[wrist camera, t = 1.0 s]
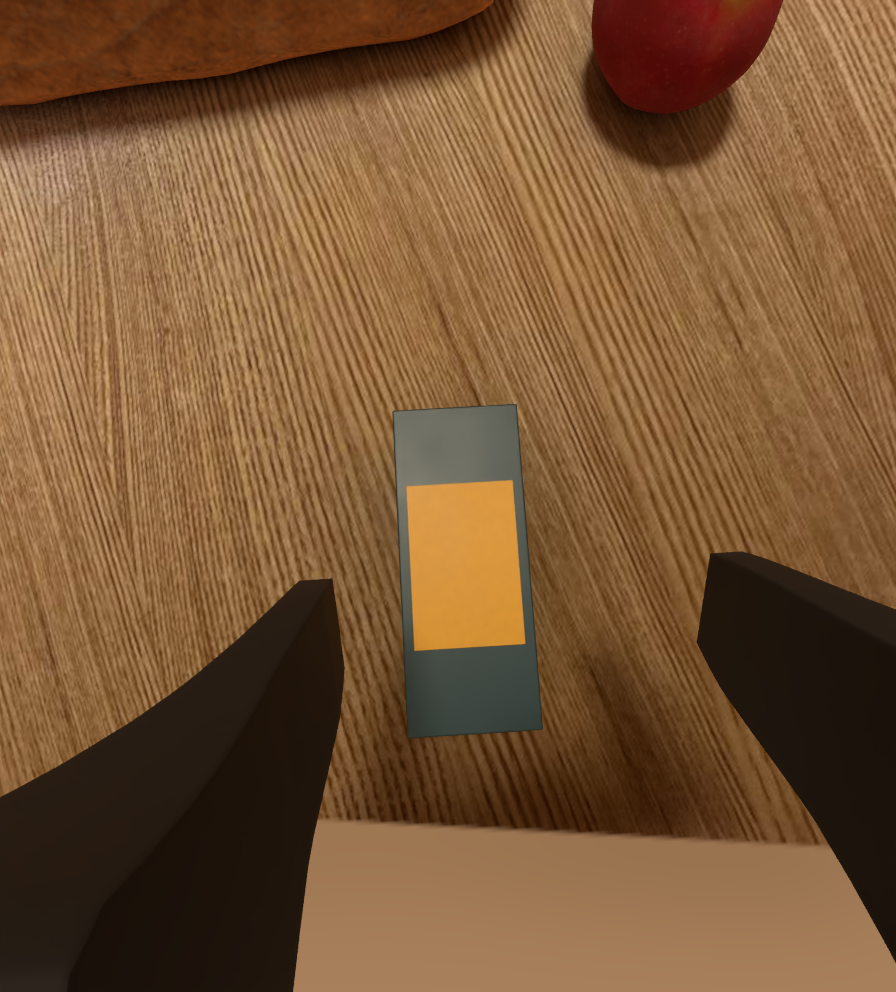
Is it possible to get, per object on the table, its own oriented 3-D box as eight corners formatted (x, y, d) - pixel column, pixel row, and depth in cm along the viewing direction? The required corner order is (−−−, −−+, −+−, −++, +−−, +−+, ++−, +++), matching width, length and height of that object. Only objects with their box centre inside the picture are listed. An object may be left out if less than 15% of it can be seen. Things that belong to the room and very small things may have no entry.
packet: (526, 705, 24) (543, 730, 20) (414, 712, 24) (407, 739, 19) (505, 430, 25) (517, 402, 21) (400, 436, 25) (392, 409, 21)
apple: (561, 141, 28) (607, -35, 20) (588, 5, 29) (642, -213, 21) (713, 170, 27) (821, 3, 19) (734, 31, 29) (844, -180, 21)
